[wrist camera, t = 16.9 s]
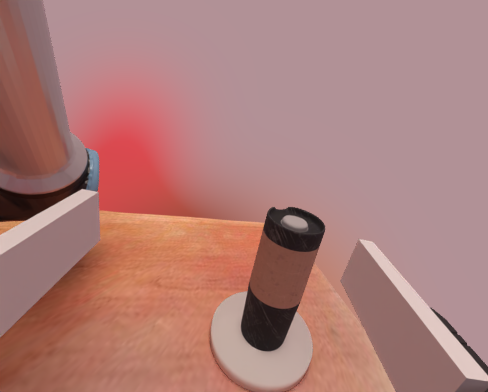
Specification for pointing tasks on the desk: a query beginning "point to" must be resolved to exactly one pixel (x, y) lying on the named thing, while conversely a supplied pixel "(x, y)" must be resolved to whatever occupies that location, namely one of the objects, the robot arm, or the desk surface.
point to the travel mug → (280, 275)
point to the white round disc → (258, 351)
